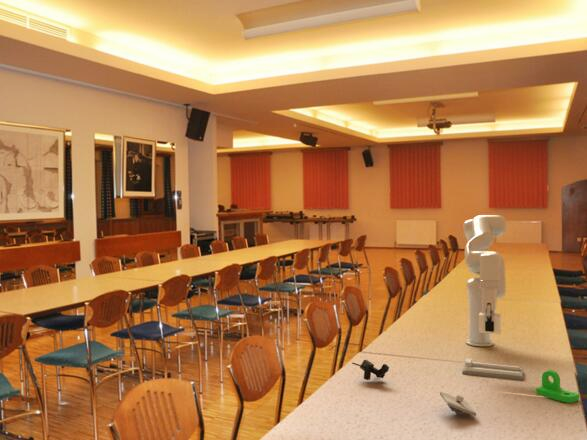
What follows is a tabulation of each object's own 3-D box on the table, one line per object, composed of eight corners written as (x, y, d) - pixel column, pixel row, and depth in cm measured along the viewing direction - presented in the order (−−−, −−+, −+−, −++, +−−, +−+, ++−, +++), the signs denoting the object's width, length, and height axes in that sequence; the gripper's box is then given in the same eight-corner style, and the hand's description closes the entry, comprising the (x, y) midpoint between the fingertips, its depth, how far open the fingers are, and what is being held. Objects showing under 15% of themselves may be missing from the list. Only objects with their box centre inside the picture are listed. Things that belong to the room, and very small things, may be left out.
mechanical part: (536, 393, 185) (535, 371, 184) (545, 390, 188) (544, 368, 188) (570, 403, 175) (570, 380, 175) (579, 399, 178) (579, 376, 178)
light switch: (466, 404, 175) (466, 389, 174) (477, 417, 165) (477, 401, 165) (438, 405, 175) (438, 389, 174) (447, 417, 165) (448, 401, 165)
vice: (390, 390, 203) (371, 374, 212) (401, 371, 203) (381, 355, 211) (362, 385, 192) (343, 368, 200) (374, 364, 191) (354, 348, 200)
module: (480, 329, 212) (479, 312, 212) (501, 331, 208) (500, 313, 208) (478, 332, 207) (478, 314, 207) (500, 334, 204) (500, 316, 204)
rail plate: (464, 366, 217) (464, 356, 217) (522, 372, 208) (522, 362, 208) (462, 373, 208) (462, 363, 207) (522, 380, 199) (522, 369, 199)
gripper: (481, 281, 217) (482, 324, 217) (477, 286, 201) (478, 333, 202) (500, 281, 214) (501, 325, 214) (498, 287, 198) (499, 335, 198)
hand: (490, 329), depth 208 cm, fingers closed on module, 5 cm apart
